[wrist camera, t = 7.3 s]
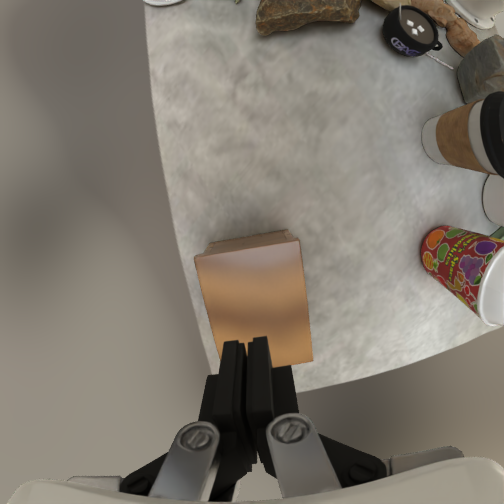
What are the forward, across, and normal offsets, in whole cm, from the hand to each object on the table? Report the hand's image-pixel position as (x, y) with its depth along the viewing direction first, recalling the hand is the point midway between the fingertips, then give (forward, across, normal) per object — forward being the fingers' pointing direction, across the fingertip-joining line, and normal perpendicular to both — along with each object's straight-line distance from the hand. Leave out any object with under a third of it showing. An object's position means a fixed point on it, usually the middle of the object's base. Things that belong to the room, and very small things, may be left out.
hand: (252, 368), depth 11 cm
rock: (+19, -13, -22) cm, 32 cm away
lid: (+15, 0, +5) cm, 15 cm away
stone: (+16, -32, -22) cm, 42 cm away
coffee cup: (+23, -25, -9) cm, 35 cm away
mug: (+23, -24, -21) cm, 40 cm away
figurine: (+22, -42, -18) cm, 51 cm away
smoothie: (+23, -23, +5) cm, 33 cm away
